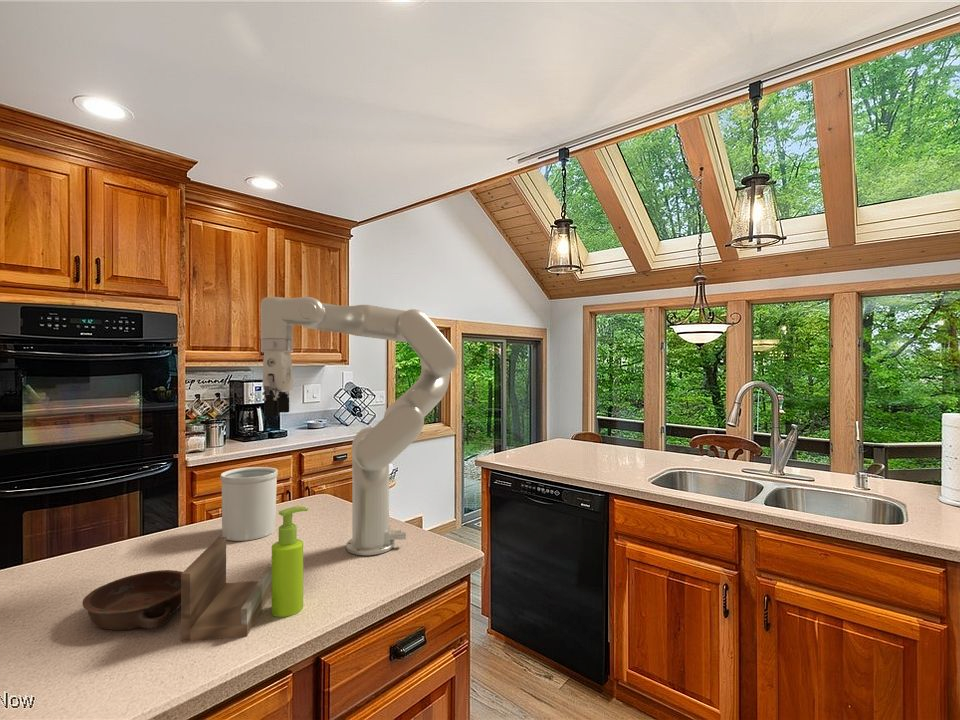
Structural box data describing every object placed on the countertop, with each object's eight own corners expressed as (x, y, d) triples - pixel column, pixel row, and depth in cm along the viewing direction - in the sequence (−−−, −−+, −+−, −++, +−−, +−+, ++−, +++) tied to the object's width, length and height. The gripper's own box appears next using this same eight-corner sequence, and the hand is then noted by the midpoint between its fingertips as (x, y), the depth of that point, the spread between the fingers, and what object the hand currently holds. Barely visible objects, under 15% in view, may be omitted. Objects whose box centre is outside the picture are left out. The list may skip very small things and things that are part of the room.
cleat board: (272, 589, 106) (272, 534, 106) (246, 636, 88) (246, 570, 88) (218, 592, 104) (218, 537, 104) (181, 641, 86) (181, 574, 86)
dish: (162, 582, 110) (162, 559, 110) (213, 611, 97) (213, 586, 97) (64, 615, 95) (64, 590, 95) (108, 654, 83) (108, 625, 83)
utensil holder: (241, 522, 148) (241, 465, 148) (287, 525, 146) (287, 466, 146) (208, 540, 134) (208, 477, 134) (258, 543, 132) (258, 479, 132)
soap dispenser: (313, 607, 98) (313, 508, 98) (279, 620, 93) (279, 516, 93) (299, 597, 102) (299, 502, 102) (266, 609, 97) (266, 509, 97)
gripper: (282, 346, 115) (283, 418, 115) (300, 347, 132) (301, 410, 132) (249, 345, 114) (249, 419, 114) (272, 347, 131) (272, 411, 131)
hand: (277, 414), depth 123 cm, fingers open, 9 cm apart
